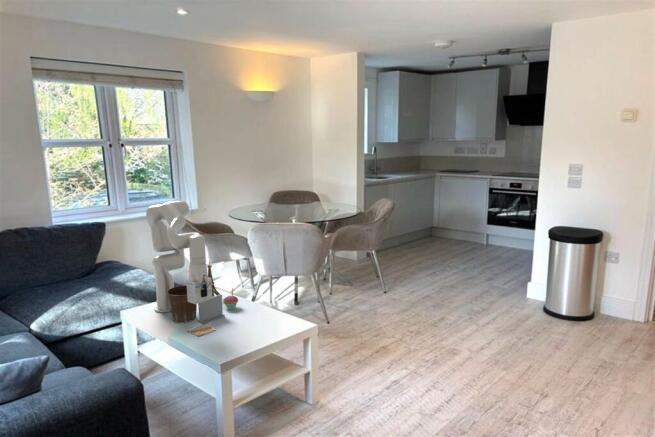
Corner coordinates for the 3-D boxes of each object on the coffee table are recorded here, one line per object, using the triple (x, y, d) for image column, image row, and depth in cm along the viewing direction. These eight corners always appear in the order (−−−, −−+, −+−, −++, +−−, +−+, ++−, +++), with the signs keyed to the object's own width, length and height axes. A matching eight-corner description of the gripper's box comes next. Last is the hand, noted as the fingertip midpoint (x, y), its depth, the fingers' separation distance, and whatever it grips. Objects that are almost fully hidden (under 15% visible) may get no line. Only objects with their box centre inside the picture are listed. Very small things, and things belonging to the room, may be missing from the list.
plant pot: (191, 325, 235) (189, 295, 233) (162, 323, 239) (160, 293, 236) (205, 314, 251) (204, 286, 249) (178, 312, 254) (177, 284, 252)
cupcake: (231, 304, 266) (230, 284, 264) (241, 307, 261) (241, 287, 259) (220, 309, 259) (219, 288, 257) (230, 312, 254) (229, 291, 252)
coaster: (187, 331, 228) (187, 330, 228) (204, 325, 236) (204, 324, 236) (198, 336, 222) (198, 335, 222) (215, 330, 229) (215, 329, 229)
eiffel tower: (222, 296, 281) (220, 256, 277) (216, 302, 271) (214, 261, 267) (206, 295, 283) (204, 256, 278) (199, 301, 272) (197, 260, 268)
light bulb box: (204, 296, 232) (203, 275, 231) (213, 298, 229) (212, 277, 227) (186, 301, 224) (185, 280, 222) (195, 304, 220) (194, 283, 218)
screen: (197, 321, 240) (196, 300, 238) (219, 314, 251) (218, 293, 249) (202, 324, 237) (201, 302, 235) (224, 316, 247) (223, 295, 245)
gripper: (181, 258, 226) (183, 293, 229) (201, 264, 214) (203, 300, 217) (194, 255, 231) (196, 289, 234) (214, 261, 220) (216, 296, 223)
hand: (199, 294), depth 226 cm, fingers closed on light bulb box, 7 cm apart
